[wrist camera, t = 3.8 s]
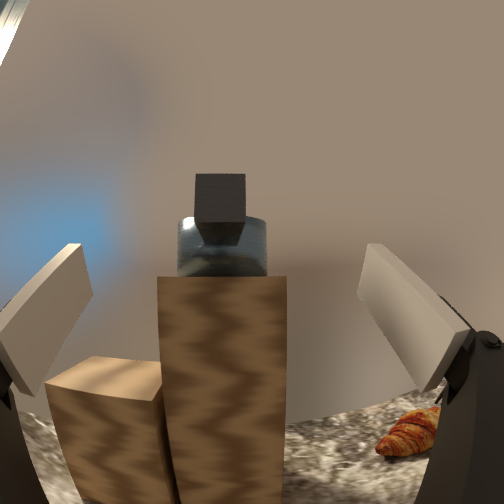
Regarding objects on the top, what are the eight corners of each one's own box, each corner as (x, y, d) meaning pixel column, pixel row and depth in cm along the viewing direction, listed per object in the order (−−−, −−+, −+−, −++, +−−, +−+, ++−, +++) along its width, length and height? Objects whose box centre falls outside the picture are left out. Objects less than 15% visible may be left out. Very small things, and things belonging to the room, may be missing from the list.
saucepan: (135, 273, 16) (140, 175, 16) (184, 278, 36) (184, 232, 37) (305, 273, 17) (301, 176, 17) (260, 278, 37) (260, 232, 38)
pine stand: (81, 498, 20) (36, 244, 23) (111, 451, 34) (89, 256, 37) (282, 515, 22) (288, 242, 26) (266, 460, 36) (265, 256, 40)
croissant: (440, 430, 39) (435, 397, 44) (477, 422, 31) (471, 385, 36) (363, 468, 34) (357, 428, 38) (401, 470, 26) (395, 423, 30)
